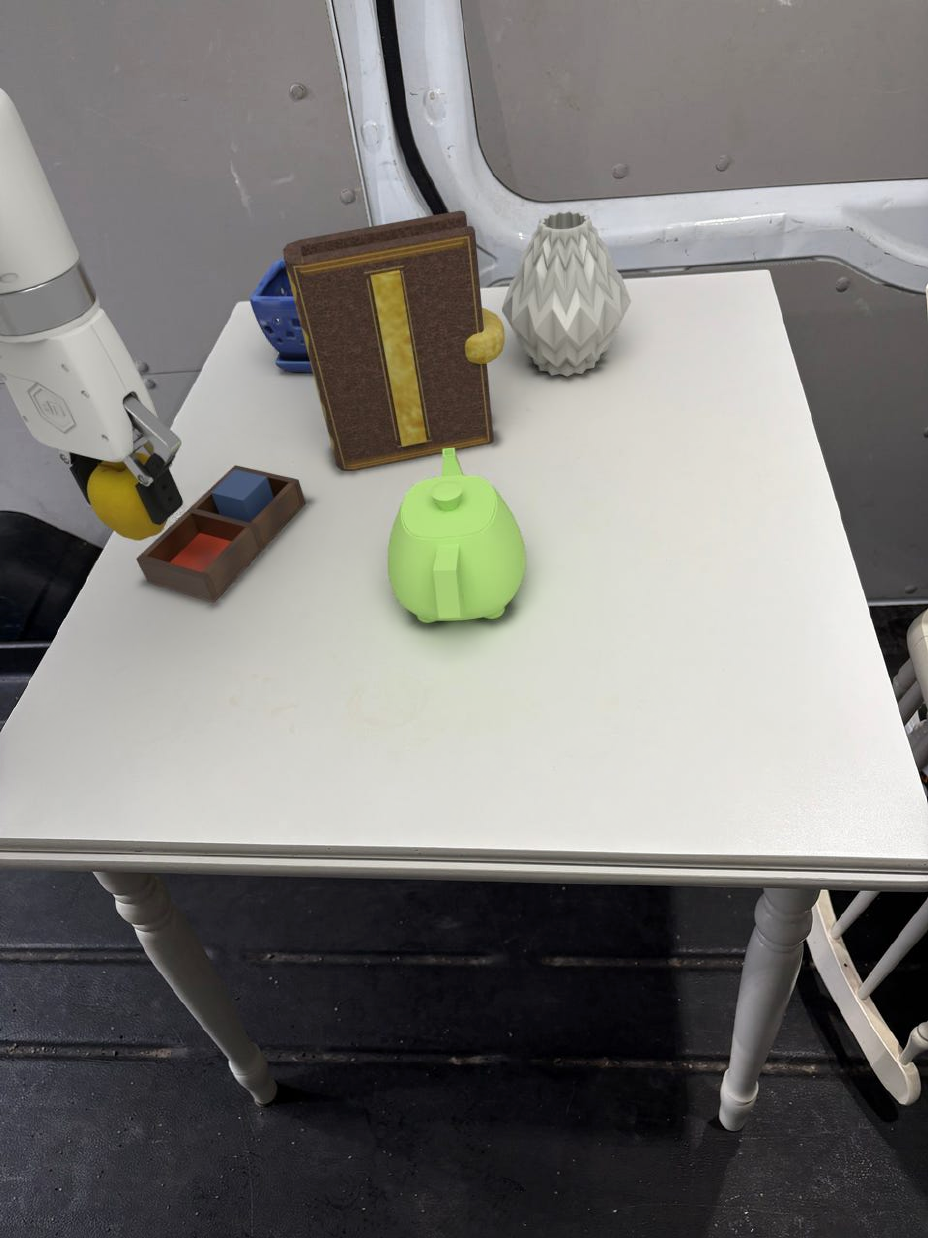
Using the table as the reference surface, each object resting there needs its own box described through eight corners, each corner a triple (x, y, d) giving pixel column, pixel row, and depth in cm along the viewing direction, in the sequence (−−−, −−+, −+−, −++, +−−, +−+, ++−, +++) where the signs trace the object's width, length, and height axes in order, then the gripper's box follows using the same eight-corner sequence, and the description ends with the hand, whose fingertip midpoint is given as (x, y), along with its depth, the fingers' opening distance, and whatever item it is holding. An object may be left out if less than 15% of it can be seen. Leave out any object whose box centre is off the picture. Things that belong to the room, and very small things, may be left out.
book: (338, 478, 99) (285, 270, 82) (332, 440, 105) (281, 238, 88) (518, 442, 101) (504, 230, 83) (502, 406, 107) (486, 201, 89)
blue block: (223, 523, 95) (210, 492, 92) (246, 500, 98) (235, 468, 94) (254, 532, 93) (243, 500, 90) (277, 508, 96) (267, 476, 93)
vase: (615, 397, 106) (620, 250, 92) (492, 388, 110) (479, 246, 97) (637, 335, 116) (644, 194, 103) (524, 328, 121) (516, 193, 107)
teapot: (402, 529, 92) (382, 431, 83) (524, 520, 90) (517, 420, 82) (387, 667, 78) (361, 567, 69) (531, 659, 77) (524, 556, 68)
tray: (213, 602, 86) (203, 578, 84) (147, 582, 90) (135, 558, 87) (305, 503, 97) (298, 479, 94) (243, 488, 100) (235, 464, 98)
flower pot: (380, 333, 124) (365, 252, 116) (359, 379, 115) (341, 296, 107) (295, 335, 127) (275, 256, 118) (269, 381, 118) (244, 299, 109)
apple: (102, 559, 70) (59, 481, 64) (125, 511, 74) (87, 434, 68) (176, 554, 69) (139, 475, 63) (195, 506, 73) (162, 428, 68)
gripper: (-92, 306, 58) (31, 510, 71) (87, 340, 51) (186, 557, 64) (-7, 261, 62) (94, 460, 75) (167, 286, 56) (245, 500, 68)
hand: (136, 503), depth 69 cm, fingers closed on apple, 6 cm apart
